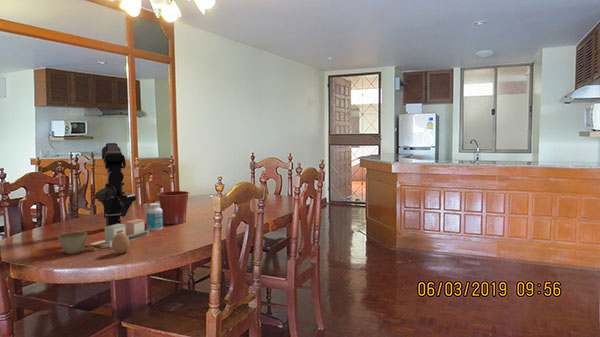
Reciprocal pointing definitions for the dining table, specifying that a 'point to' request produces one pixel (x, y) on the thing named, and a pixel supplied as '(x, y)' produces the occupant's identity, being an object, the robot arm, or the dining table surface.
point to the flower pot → (173, 206)
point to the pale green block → (114, 231)
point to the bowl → (73, 241)
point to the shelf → (131, 237)
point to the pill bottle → (154, 217)
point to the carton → (135, 226)
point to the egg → (120, 243)
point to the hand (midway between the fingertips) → (116, 215)
